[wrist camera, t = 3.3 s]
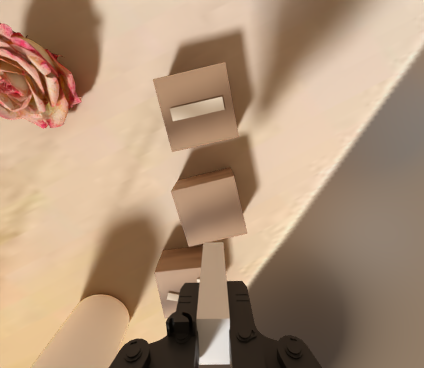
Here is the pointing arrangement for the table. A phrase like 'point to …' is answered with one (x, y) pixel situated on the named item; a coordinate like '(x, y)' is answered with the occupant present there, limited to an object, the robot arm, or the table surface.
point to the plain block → (209, 207)
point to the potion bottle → (87, 335)
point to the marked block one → (197, 107)
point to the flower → (33, 82)
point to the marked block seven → (177, 274)
